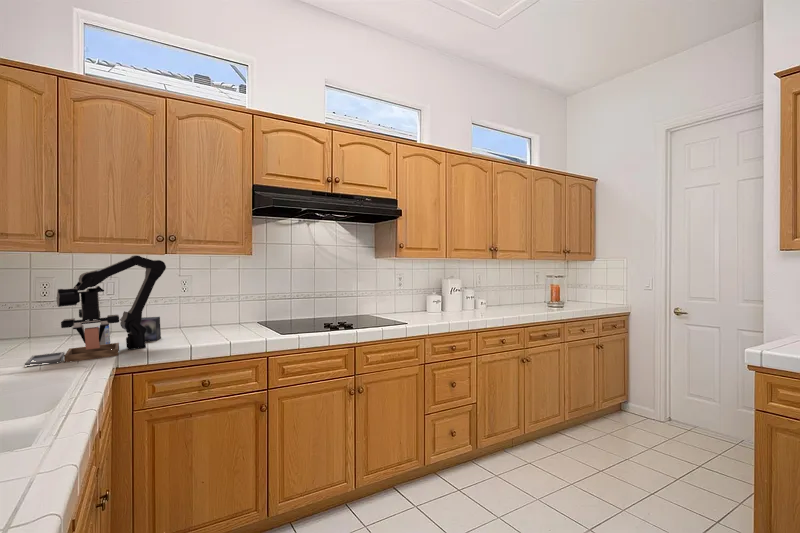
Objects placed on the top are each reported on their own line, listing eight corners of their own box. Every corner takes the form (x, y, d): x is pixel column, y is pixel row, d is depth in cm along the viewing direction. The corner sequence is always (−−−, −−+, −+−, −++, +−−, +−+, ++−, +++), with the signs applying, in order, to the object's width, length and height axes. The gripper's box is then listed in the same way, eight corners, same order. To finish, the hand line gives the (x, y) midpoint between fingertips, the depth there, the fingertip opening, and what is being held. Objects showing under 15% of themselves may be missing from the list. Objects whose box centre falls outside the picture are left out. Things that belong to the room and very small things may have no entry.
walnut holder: (119, 348, 184) (118, 342, 184) (118, 355, 171) (117, 349, 171) (69, 354, 175) (69, 348, 175) (64, 362, 162) (64, 355, 162)
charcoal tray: (64, 355, 174) (64, 351, 174) (59, 362, 162) (59, 358, 162) (32, 359, 169) (32, 355, 169) (25, 367, 157) (24, 363, 157)
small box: (131, 342, 195) (129, 319, 195) (137, 339, 202) (135, 317, 201) (156, 341, 197) (155, 318, 197) (161, 338, 204) (160, 316, 203)
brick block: (99, 346, 176) (98, 326, 176) (99, 348, 172) (98, 328, 172) (86, 347, 174) (85, 328, 173) (85, 349, 170) (84, 329, 170)
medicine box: (105, 347, 188) (104, 327, 187) (93, 348, 186) (92, 328, 185) (110, 343, 195) (109, 324, 194) (98, 344, 193) (97, 325, 193)
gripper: (118, 299, 184) (120, 335, 185) (63, 304, 174) (66, 342, 175) (117, 302, 175) (120, 340, 175) (59, 306, 165) (62, 347, 165)
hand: (92, 342), depth 173 cm, fingers closed on brick block, 4 cm apart
